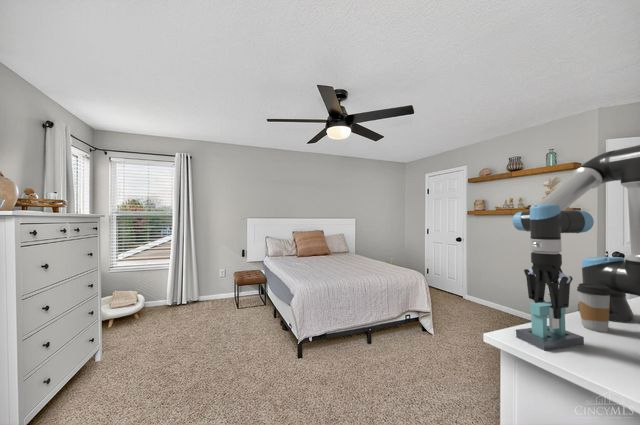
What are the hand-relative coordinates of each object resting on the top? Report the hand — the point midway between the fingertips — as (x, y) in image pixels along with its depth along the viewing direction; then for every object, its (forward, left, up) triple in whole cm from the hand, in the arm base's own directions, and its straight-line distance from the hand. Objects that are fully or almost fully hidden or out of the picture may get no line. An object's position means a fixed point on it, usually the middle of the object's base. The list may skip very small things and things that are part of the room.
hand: (548, 325), depth 84 cm
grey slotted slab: (0, 0, -5) cm, 5 cm away
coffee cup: (-25, -4, -5) cm, 26 cm away
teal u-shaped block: (0, 0, -4) cm, 4 cm away
